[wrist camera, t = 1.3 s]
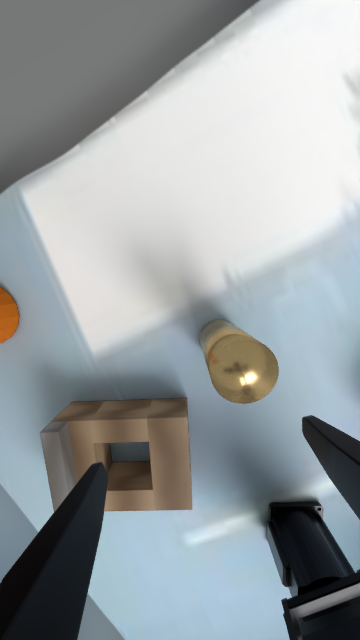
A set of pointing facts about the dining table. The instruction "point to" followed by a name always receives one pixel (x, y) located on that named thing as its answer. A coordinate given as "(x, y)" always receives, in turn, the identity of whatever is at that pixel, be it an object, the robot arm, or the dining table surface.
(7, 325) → the spray bottle
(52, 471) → the jig
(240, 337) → the brass cylinder rod
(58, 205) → the dining table surface
